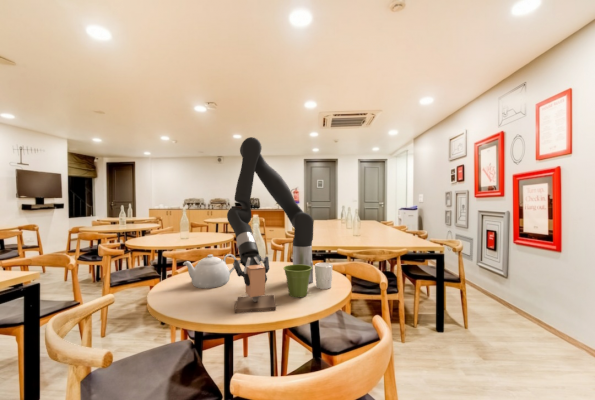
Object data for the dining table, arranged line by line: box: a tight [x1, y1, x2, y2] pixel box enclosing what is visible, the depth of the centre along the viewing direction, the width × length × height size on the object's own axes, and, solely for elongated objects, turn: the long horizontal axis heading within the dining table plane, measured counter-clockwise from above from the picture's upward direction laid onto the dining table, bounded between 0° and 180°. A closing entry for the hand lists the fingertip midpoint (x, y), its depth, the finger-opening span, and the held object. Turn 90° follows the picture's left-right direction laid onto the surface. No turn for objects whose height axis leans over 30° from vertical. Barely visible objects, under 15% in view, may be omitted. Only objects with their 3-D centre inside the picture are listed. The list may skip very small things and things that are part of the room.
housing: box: [245, 264, 266, 297], centre depth 96 cm, size 6×6×10 cm
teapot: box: [182, 253, 237, 289], centre depth 123 cm, size 19×18×14 cm
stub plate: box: [234, 294, 277, 314], centre depth 96 cm, size 14×12×6 cm
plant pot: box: [282, 264, 312, 299], centre depth 106 cm, size 12×12×11 cm
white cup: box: [314, 262, 333, 290], centre depth 116 cm, size 8×8×10 cm
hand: (256, 283), depth 94 cm, fingers closed on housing, 5 cm apart
